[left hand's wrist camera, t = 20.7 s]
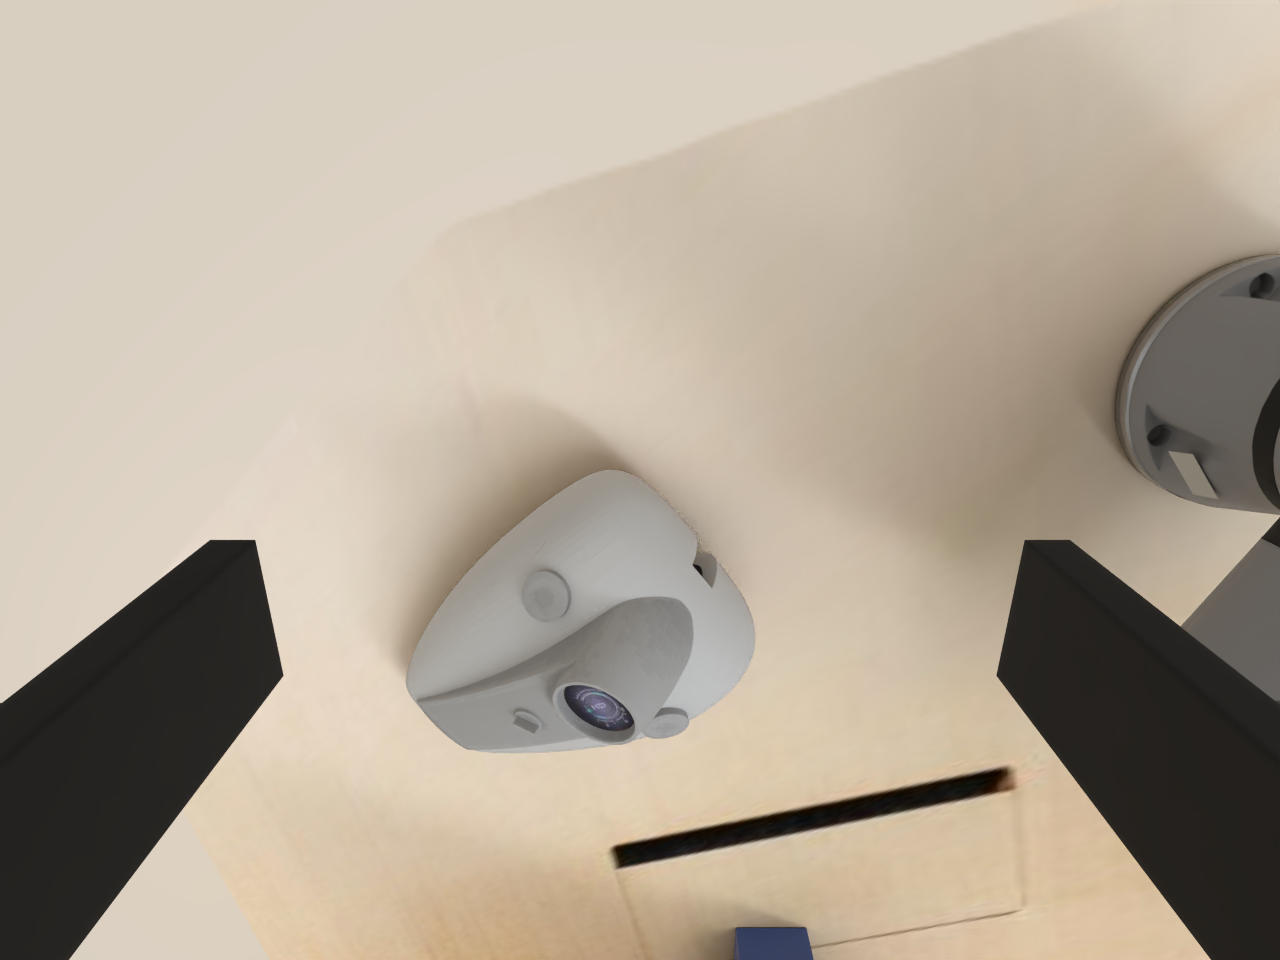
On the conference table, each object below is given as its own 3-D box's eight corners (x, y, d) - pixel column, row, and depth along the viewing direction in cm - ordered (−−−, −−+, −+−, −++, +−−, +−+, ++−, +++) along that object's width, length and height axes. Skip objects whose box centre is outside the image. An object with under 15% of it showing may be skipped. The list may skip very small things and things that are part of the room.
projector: (407, 435, 46) (309, 533, 32) (765, 461, 47) (818, 568, 33) (419, 719, 54) (344, 895, 40) (725, 738, 55) (754, 917, 41)
